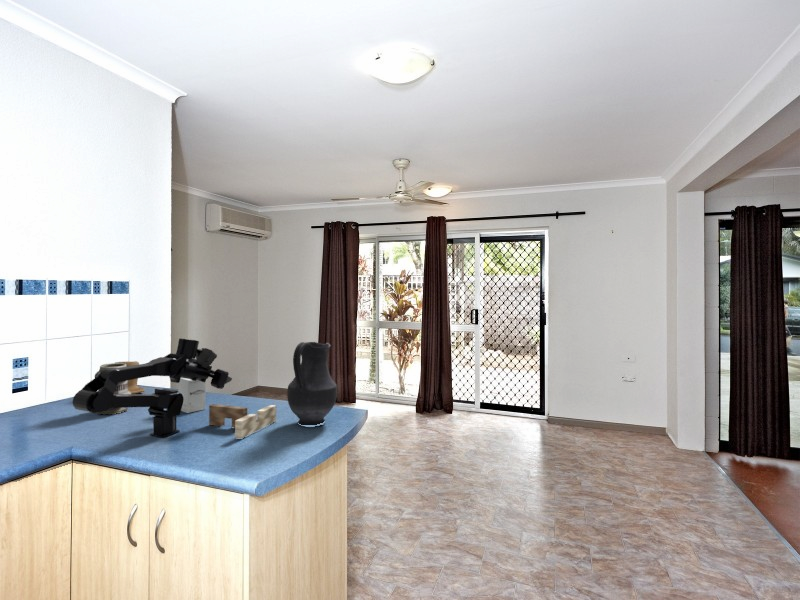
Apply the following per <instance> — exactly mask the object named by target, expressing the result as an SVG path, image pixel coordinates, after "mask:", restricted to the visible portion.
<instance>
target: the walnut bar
mask: <svg viewBox="0 0 800 600" xmlns="http://www.w3.org/2000/svg"><path fill="white" fill-rule="evenodd" d="M208 415H209V417H208V425H215V426H214V427H218V426H222V425H224V426H225V422H226V420H225V419H231V428H232V427H234V428H235V420H238V419H240V418H242V417H244V416H247V415H248V407H243V406H234V405H233V406H232V405H224V404H217V403H216V404H215V403H212V404H210V405H208ZM222 427H223V426H222ZM234 428H233V429H234Z"/></svg>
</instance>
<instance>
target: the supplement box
mask: <svg viewBox="0 0 800 600" xmlns="http://www.w3.org/2000/svg"><path fill="white" fill-rule="evenodd" d="M206 381H207V380H206ZM206 381H205V382H202V381H199V380H196V381H193V380H191V379H186V378H180V382H179V383H178V393H181V394H182V395H183V398H184V401H183V405H182V408H181V412H183V413H187V414H189V413H193V412H194V413H195V412H197V411H198V412H199V411H203V410H206V403H207V402H206V396H207V395H206V385H207V383H206Z"/></svg>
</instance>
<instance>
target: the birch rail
mask: <svg viewBox="0 0 800 600" xmlns="http://www.w3.org/2000/svg"><path fill="white" fill-rule="evenodd" d="M256 412H257V413H256V414H254V413H250V414H247V416H244V417H242V418H240V419H238V420H235V429H234V439H235V438H243V437H245V436H247V435H249V434H251V433H253V432H255V431H257V430H259V429H261V428H263V427H265V426H267V425H269V424H271V423H273V422H275V421H276V422H277V405H275V404H274V405H273V404H270V405H268V406H265V407H263V408H261V409H258V410H257V411H256Z"/></svg>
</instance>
